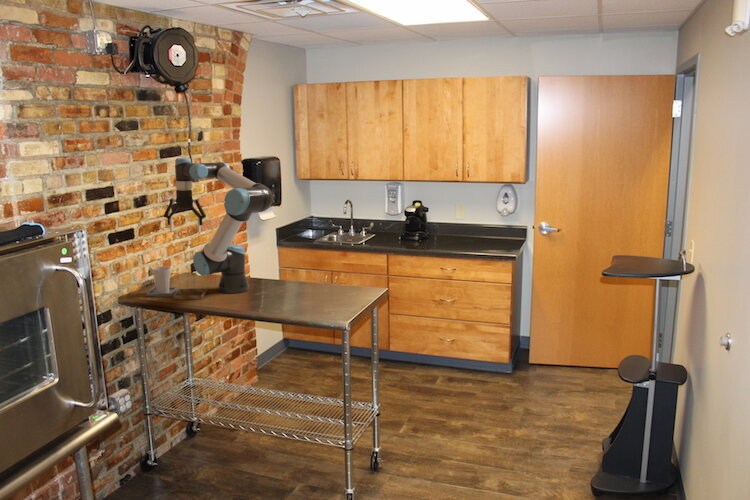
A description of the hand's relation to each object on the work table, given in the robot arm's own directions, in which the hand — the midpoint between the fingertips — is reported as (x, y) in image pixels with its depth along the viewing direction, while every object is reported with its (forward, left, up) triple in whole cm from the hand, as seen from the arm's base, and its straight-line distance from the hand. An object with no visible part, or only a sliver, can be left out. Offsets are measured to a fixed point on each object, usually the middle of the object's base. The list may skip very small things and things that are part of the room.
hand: (185, 231), depth 308 cm
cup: (+9, +13, -28) cm, 32 cm away
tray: (+9, +13, -29) cm, 33 cm away
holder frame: (-5, +16, -29) cm, 33 cm away
